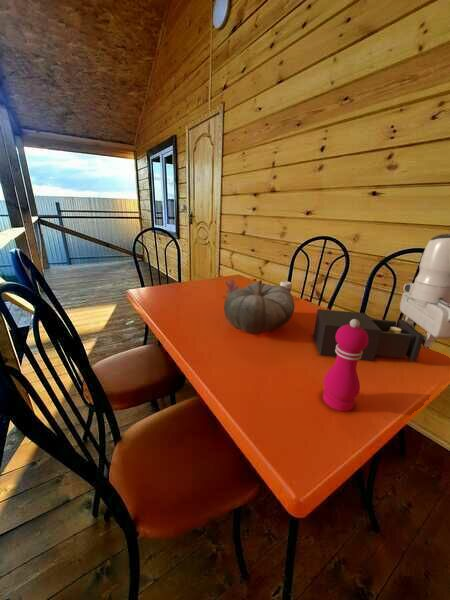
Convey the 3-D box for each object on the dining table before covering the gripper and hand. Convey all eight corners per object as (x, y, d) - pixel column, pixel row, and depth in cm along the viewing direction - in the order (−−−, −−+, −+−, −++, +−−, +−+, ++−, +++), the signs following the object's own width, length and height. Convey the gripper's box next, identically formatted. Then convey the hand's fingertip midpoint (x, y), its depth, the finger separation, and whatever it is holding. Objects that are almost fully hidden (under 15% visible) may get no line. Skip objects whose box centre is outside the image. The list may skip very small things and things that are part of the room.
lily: (221, 305, 114) (231, 289, 110) (211, 289, 122) (221, 273, 118) (241, 308, 122) (251, 293, 117) (231, 293, 129) (240, 278, 125)
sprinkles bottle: (276, 311, 107) (279, 280, 103) (287, 312, 107) (291, 281, 102) (277, 315, 103) (281, 283, 98) (289, 316, 103) (293, 284, 98)
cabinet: (359, 340, 85) (365, 313, 82) (373, 361, 73) (381, 330, 70) (313, 335, 87) (317, 309, 84) (320, 355, 75) (325, 325, 72)
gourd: (305, 317, 95) (304, 273, 88) (278, 354, 77) (274, 303, 70) (247, 308, 109) (242, 269, 102) (213, 338, 91) (204, 294, 85)
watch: (400, 352, 74) (406, 333, 72) (390, 350, 75) (395, 332, 73) (391, 342, 80) (396, 325, 78) (382, 341, 80) (386, 324, 78)
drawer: (411, 343, 82) (418, 321, 79) (432, 363, 71) (441, 338, 68) (352, 337, 84) (357, 315, 82) (364, 356, 74) (370, 331, 71)
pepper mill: (323, 386, 61) (338, 309, 55) (356, 397, 58) (376, 317, 51) (317, 404, 56) (333, 321, 49) (353, 418, 52) (376, 330, 45)
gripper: (471, 307, 60) (452, 357, 65) (423, 284, 79) (410, 325, 84) (442, 304, 61) (425, 354, 66) (401, 283, 80) (390, 323, 85)
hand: (416, 337), depth 75 cm, fingers open, 8 cm apart
